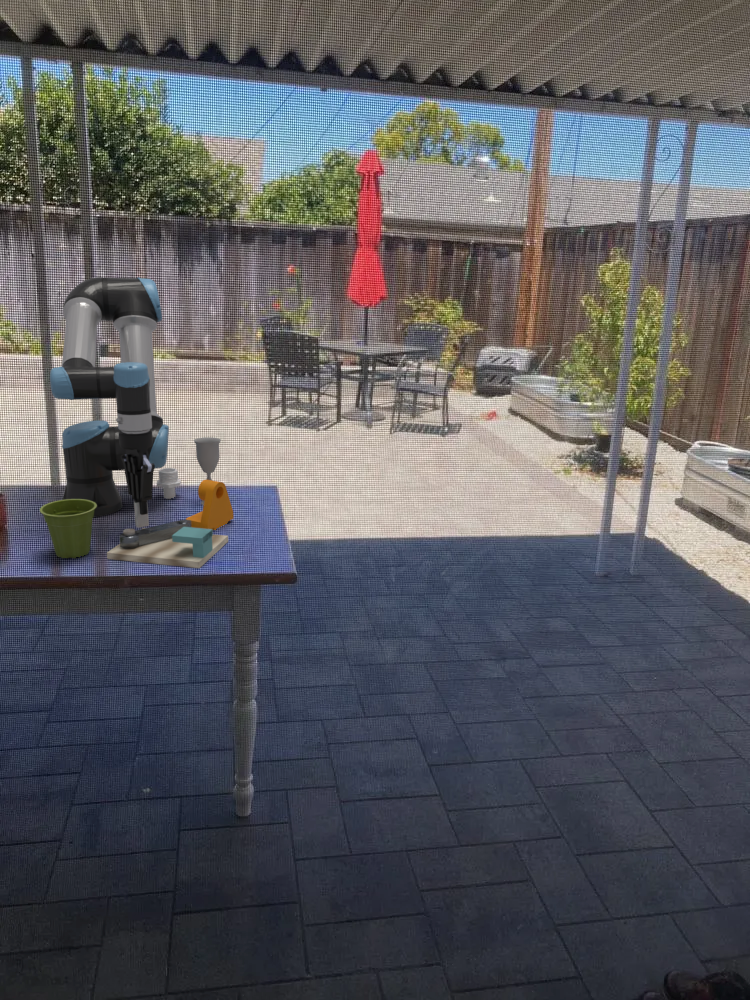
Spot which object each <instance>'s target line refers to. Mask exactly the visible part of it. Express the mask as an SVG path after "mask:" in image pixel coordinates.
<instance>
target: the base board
mask: <svg viewBox="0 0 750 1000" xmlns="http://www.w3.org/2000/svg"><path fill="white" fill-rule="evenodd" d="M145 528H146V527H141V529H145ZM135 531H136V529H135V528H126V529H123V530H122V533H123V535H125V536H131V535H134V534H135ZM227 543H229V535H224V534H223V535H222V534H214V533H213V536H212V548H213V550H212V551H211V552H210V553H209V554H207V555H206V556H205V557H204V558H201V557H193V544H190V543H179V542H172V538H169V539H165V540H161V541H157V542H153V543H149V544H145V545H141V546H138V547H136V548H132V549H124V548H121V547H120V543H119V544H117V545H116V546H114V547H113V548H112V549H110V550H109V551H107V552H106V557H107V560H115V561H122V562H123V561H126V562H135V563H144V564H154V565H164V566H172V567H173V566H174V567H183V568H192V569H200V568H202V566H204V565H205V564H206V563H207V562H208V561H209V560H210V559H211V558H213V556H214V555H216V553H218V552H219V551H220V550H221V549H222V548H223V547H225V545H226V544H227Z"/></svg>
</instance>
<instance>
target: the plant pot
mask: <svg viewBox="0 0 750 1000" xmlns="http://www.w3.org/2000/svg"><path fill="white" fill-rule="evenodd" d="M96 507H97V504H96V503H95V502H93V501H90V500H85V499H66V500H63V499H59V500H54V501H52V502H48V503H46V504H43V505H42V506H41V507H40V508H39V512H40V514H42V515H43V519H44V521H45V523H46V525H47V528H48V531H49V532H48V533H49V535H50V539H51V542H52V545H53V549H54V552H55V555H56V557H58V558H60V557H61V558H60V559H64V558H67V559H68V558H72V559H77V558H76V557H79V558H81V557H80V556H82V557H85V556H86V555H88V554H89V553H90V550H91V542H92V529H93V521H94V520H93V519H94V518H95V517H94V509H95V508H96ZM84 555H85V556H84Z"/></svg>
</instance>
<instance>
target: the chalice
mask: <svg viewBox="0 0 750 1000" xmlns="http://www.w3.org/2000/svg"><path fill="white" fill-rule="evenodd" d="M221 441H222V439H221V438H218V437H213V436H211V437H209V436H207V437H205V436H204V437H198V438H194V439H193V442H194V444H195V453H196V454H195V455H196V459H197V462H198V464H199V466H200V469H201V470H202V472H203V473H205V474H206V479H205V480H212V481H213V479H212V476H211V475H212V473H214V472H215V471H216V468H217V465H218V464H219V460H220V443H221ZM200 504H202V505H201V506H204V501H203V500H201V502H200Z"/></svg>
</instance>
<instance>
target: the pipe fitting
mask: <svg viewBox="0 0 750 1000" xmlns="http://www.w3.org/2000/svg"><path fill="white" fill-rule="evenodd" d="M181 483H182V480H181V478H179V470H178V469H177V468H175V467H174V468H173V467H163V468H159V470H158V479H156V487H158V488H162V489H163V499H165V498H166V500H172V499H171V498H173V499H175V498H176V487H180V486H181V485H182V484H181ZM174 497H175V498H174Z"/></svg>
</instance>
